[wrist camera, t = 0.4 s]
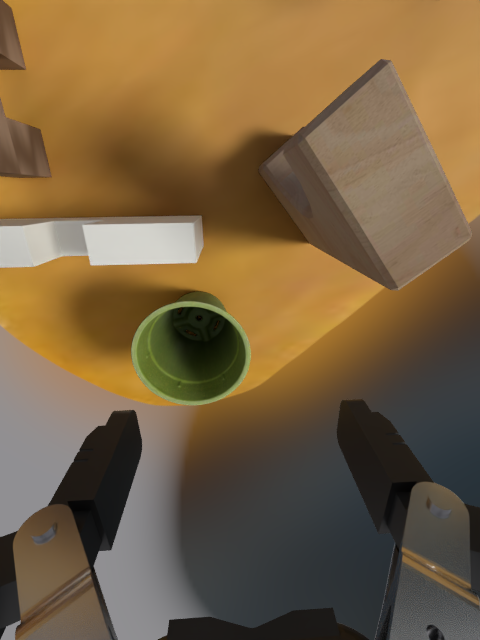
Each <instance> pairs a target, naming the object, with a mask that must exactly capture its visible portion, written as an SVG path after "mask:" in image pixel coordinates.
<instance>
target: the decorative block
mask: <svg viewBox="0 0 480 640" xmlns="http://www.w3.org/2000/svg"><path fill="white" fill-rule="evenodd" d="M259 173H260V174H261V176H262V177H263V179H264V180H265V181H266V183H267V184H268V186H269V187H270V188H271V190H272V191H273V193H274V194H275V196H276V197H277V198H278V200H279V201H280V203H281V204H282V205H283V207H284V208H285V210H286V211H287V212H288V214H289V215H290V217H291V218H292V219H293V221H294V222H295V224H296V225H297V226H298V228H299V229H300V231H301V232H302V233H303V235H304V236H305V238H306V239H307V240H308V242H309V243H310V244H311V245H313V246H315V247H317V248H318V249H320V250H322V251H323V252H325V253H327V254H329V255H331V256H332V257H334V258H336V259H338V260H339V261H341V262H343V263H344V264H346V265H348V266H350V267H351V268H353V269H355V270H357V271H358V272H360V273H362V274H364V275H365V276H367V277H369V278H371V279H372V280H374V281H376V282H378V283H379V284H381V285H383V286H385V287H386V288H388V289H390V290H399V289H401V288H402V287H404V286H405V285H407V284H408V283H409V282H411V281H412V280H414V279H415V278H416V277H418V276H419V275H421V274H422V273H424V272H425V271H426V270H428V269H429V268H431V267H432V266H434V265H435V264H437V263H438V262H439V261H441V260H442V259H444V258H445V257H446V256H448V255H449V254H451V253H452V252H454V251H455V250H456V249H458V248H459V247H461V246H462V245H463V244H465V243H466V242H468V241H469V240H470V238H471V235H472V231H471V229H470V227H469V224H468V222H467V220H466V218H465V216H464V214H463V212H462V209H461V207H460V205H459V203H458V201H457V199H456V197H455V194H454V192H453V190H452V188H451V186H450V184H449V182H448V179H447V177H446V175H445V173H444V171H443V169H442V167H441V164H440V162H439V160H438V158H437V156H436V154H435V152H434V149H433V147H432V145H431V143H430V141H429V139H428V137H427V135H426V133H425V131H424V128H423V126H422V124H421V122H420V120H419V118H418V116H417V114H416V112H415V110H414V107H413V105H412V103H411V101H410V99H409V97H408V95H407V93H406V91H405V88H404V86H403V84H402V82H401V80H400V78H399V76H398V74H397V72H396V70H395V67H394V65H393V63H392V61H390V60H384V59H381V60H380V61H378V62H377V63H376V64H375V65H374V66H373V67H371V68H370V69H369V70H368V71H367V72H366V73H365V74H363V75H362V76H361V77H360V78H359V79H358V80H357V81H355V82H354V83H353V84H352V85H351V86H350V87H348V88H347V89H346V90H345V91H344V92H343V93H342V94H341V95H340V96H339V97H337V98H336V99H335V100H334V101H333V102H332V103H331V104H330V105H329V106H327V107H326V108H325V109H324V110H323V111H322V112H321V113H320V114H319V115H318V116H316V117H315V118H314V119H313V120H312V121H311V122H310V123H309V124H308V125H307V126H305V127H302V128H301V129H300V130H299V131H298V132H297V133H296V134H294V135H293V136H292V137H291V138H290V139H289V140H288V141H287V142H286V143H285V144H283V145H282V146H281V147H280V148H279V149H278V150H277V151H276V152H275V153H273V154H272V155H271V156H270V157H269V158H268V159H267V160H266V161H265V162H264V163H262V164H261V165H260V166H259Z"/></svg>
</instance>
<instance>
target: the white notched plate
mask: <svg viewBox="0 0 480 640" xmlns="http://www.w3.org/2000/svg"><path fill="white" fill-rule="evenodd" d="M203 246H204V244H203V227H202V215H198V216H142V217H85V218H28V219H0V267H35V266H37V265H40V264H43V263H45V262H48V261H51V260H53V259H56V258H59V257H61V256H88V255H89V259H90V264H91V265H127V264H169V263H196V262H197V260H198V258H199V255H200V253H201V251H202V248H203Z"/></svg>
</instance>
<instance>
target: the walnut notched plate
mask: <svg viewBox="0 0 480 640" xmlns="http://www.w3.org/2000/svg"><path fill="white" fill-rule="evenodd" d="M0 70H26V67H25V63H24V59H23V55H22V51H21V46H20V42H19V38H18V34H17V30H16V25H15V21H14V17H13V13H12V9H11V7H10V6H8V5H7V4H6V3H5V2H4V1H3V0H0ZM0 176H5V177H17V178H35V177H52V176H51V172H50V168H49V164H48V160H47V156H46V151H45V147H44V143H43V139H42V135H41V130H40V129H37V128H35V127H32V126H29V125H26V124H23V123H21V122H18V121H15V120H12V119H9V118H7V117H5V113H4V110H3V106H2V102H1V99H0Z"/></svg>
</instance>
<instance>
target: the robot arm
mask: <svg viewBox="0 0 480 640" xmlns="http://www.w3.org/2000/svg"><path fill="white" fill-rule="evenodd" d="M337 439H338V443H339V446H340V449H341V451H342V453H343V455H344V458H345V460H346V462H347V464H348V467H349V469H350V471H351V473H352V476H353V478H354V480H355V482H356V485H357V487H358V489H359V491H360V493H361V496H362V498H363V500H364V503H365V505H366V507H367V509H368V511H369V514H370V516H371V518H372V520H373V523H374V525H375V527H376V529H377V532H378V533H379V534H384V533H391V535H392V537H393V539H394V541H395V546H394V549H393V555H392V560H391V565H390V570H389V576H388V581H387V586H386V591H385V596H384V602H383V607H382V611H381V616H380V620H379V624H378V628H377V632H376V637H375V640H480V604H479V598H478V596H477V594H476V593H475V592H474V591H472V590H475V591H478V592H480V508H479V507H475V506H470V505H467V504H464V503H463V502H462V501H461V500H460V498H459V497H457V496H456V495H455V494H454V493H453V492H451V491H450V490H449V489H447V488H445V487H443V486H441V485H439V484H436V483H434V482H433V481H432V479H431V478H430V476H429V475H428V474H427V472H426V471H425V470H424V468H423V467H422V465H421V464H420V463H419V461H418V460H417V458H416V457H415V455H414V454H413V453H412V451H411V450H410V448H409V447H408V446H407V445H406V444H405V441H404V440H403V439H402V437H401V436H400V435H398V432H397V430H396V429H395V428H394V426H393V425H392V423H391V422H390V421H389V420H388V419H386V418H385V417H384V416H383V415H381V414H380V413H379V412H371V410H370V409H369V408H368V406H367V404H366V403H365V402H364V401H363V400H362V399H353V400H342V401H341V405H340V411H339V418H338V425H337ZM141 452H142V439H141V434H140V429H139V425H138V420H137V415H136V412H135V411H134V410H127V411H126V410H125V411H114V412H113V413H112V414H111V416H110V418H109V420H108V422H107V424H106V426H98V427H97V428H96V429H95V430H94V431H92V432H91V433H90V434H89V435H88V436H87V437H86V439H85V441H84V442H83V444H82V446H81V448H80V451H79V452H78V453H77V455H76V457H75V459H74V462H73V463H72V464H71V466H70V467H69V469H68V471H67V473H66V475H65V476H64V478H63V480H62V482H61V483H60V485H59V487H58V489H57V491H56V492H55V494H54V496H53V498H52V500H51V501H50V503H49V505H48V506H47V507H45V508H43V509H41V510H39V511H38V512H36V513H34V514H33V515H32V516H31V517H29V518H28V519H27V520H26V521H25V522H24V523H23V524H22V526H21V527H20V528H19V530H18V531H16V532H14V533H11V534H8V535H5V536H3V537H0V639H1V637H2V635H3V633H4V630H5V628H6V626H8V625H11V624H13V623H15V622H17V621H20V620H21V624H20V625H18V626H17V628H16V632H15V640H118V639H117V636H116V633H115V630H114V627H113V624H112V621H111V618H110V615H109V612H108V609H107V606H106V603H105V599H104V596H103V594H102V590H101V588H100V584H99V581H98V578H97V575H96V572H95V569H94V563H95V560H96V557H97V554H98V552H99V551H106V550H111V549H112V545H113V542H114V539H115V536H116V533H117V530H118V527H119V523H120V520H121V517H122V514H123V511H124V507H125V505H126V501H127V498H128V495H129V491H130V489H131V486H132V482H133V479H134V476H135V473H136V470H137V467H138V464H139V460H140V457H141ZM471 589H472V590H471ZM158 640H369V639H368V638H367V637H365V636H364V635H363V634H361V633H359V632H358V631H356V630H354V629H352V628H350V627H348V626H346V625H343V624H340V623H337V622H336V618H335V615H334V610H333V608H323V609H310V610H296V611H291V612H289V613H287V614H285V615H283V616H280V617H278V618H276V619H274V620H272V621H269V622H267V623H265V624H263V625H261V626H258V627H256V628H248V627H244V626H241V625H237V624H233V623H230V622H226V621H223V620H219V619H216V618H212V617H202V618H188V619H174V620H169V627H168V634H167V636H164V637H162V638H160V639H158Z"/></svg>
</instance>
